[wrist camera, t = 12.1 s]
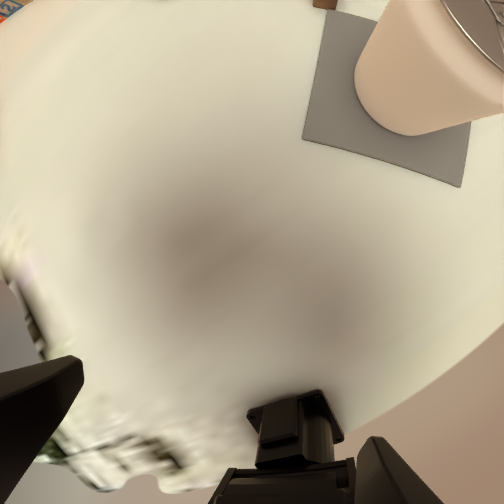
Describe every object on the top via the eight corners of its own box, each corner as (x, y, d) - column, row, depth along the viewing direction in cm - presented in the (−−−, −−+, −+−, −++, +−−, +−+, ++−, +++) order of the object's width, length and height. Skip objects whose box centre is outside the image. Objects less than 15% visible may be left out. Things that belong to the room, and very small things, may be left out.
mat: (457, 187, 17) (460, 187, 17) (302, 139, 18) (302, 138, 18) (472, 63, 15) (474, 62, 14) (327, 11, 16) (327, 8, 15)
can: (373, 147, 17) (480, 111, 6) (336, 52, 16) (376, -73, 4) (457, 127, 16) (589, 99, 4) (422, 39, 15) (511, -51, 3)
